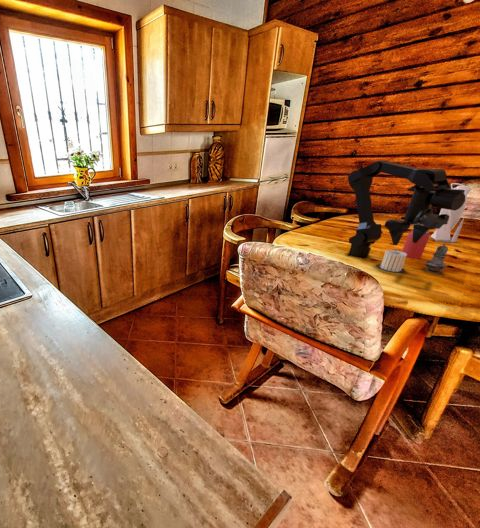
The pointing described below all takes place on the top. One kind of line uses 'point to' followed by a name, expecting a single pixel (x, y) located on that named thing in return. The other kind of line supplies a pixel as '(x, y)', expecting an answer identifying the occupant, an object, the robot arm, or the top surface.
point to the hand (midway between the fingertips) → (404, 243)
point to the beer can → (415, 245)
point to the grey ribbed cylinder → (393, 260)
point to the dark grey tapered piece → (437, 260)
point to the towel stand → (390, 271)
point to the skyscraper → (451, 220)
